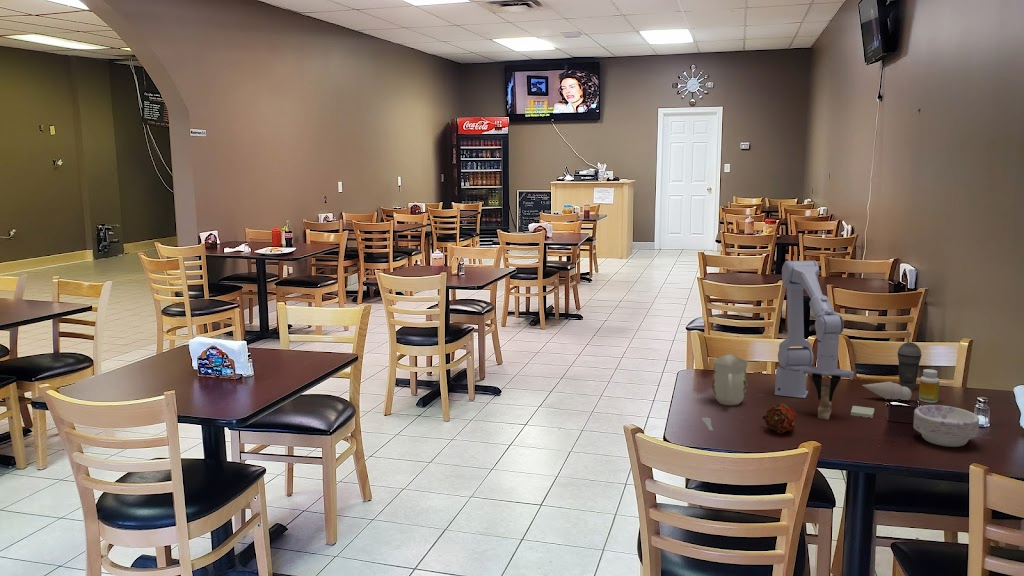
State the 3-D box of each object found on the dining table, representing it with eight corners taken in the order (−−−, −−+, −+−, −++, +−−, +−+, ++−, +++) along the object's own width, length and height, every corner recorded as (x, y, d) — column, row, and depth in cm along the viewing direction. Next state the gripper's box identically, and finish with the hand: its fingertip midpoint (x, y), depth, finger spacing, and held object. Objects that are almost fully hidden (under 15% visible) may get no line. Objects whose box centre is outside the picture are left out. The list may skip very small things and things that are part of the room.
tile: (850, 412, 229) (872, 414, 226) (852, 405, 235) (874, 408, 232) (850, 416, 229) (872, 419, 226) (852, 410, 235) (874, 413, 232)
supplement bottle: (937, 403, 239) (940, 373, 238) (918, 401, 242) (920, 371, 240) (938, 399, 244) (940, 369, 242) (918, 397, 246) (921, 367, 245)
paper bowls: (950, 455, 196) (953, 425, 195) (899, 436, 210) (901, 408, 209) (990, 446, 202) (992, 417, 201) (938, 429, 216) (940, 401, 215)
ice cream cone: (857, 397, 246) (907, 407, 243) (863, 390, 241) (914, 400, 238) (858, 380, 249) (908, 390, 246) (864, 372, 244) (915, 382, 241)
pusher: (817, 418, 226) (819, 388, 225) (820, 410, 233) (821, 382, 232) (828, 419, 225) (830, 389, 224) (831, 412, 232) (832, 383, 231)
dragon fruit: (780, 443, 210) (773, 435, 221) (806, 427, 208) (799, 419, 220) (761, 417, 211) (756, 411, 222) (788, 400, 209) (781, 395, 221)
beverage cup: (909, 392, 252) (914, 332, 249) (890, 386, 258) (894, 328, 256) (924, 389, 255) (928, 330, 252) (904, 383, 262) (908, 326, 259)
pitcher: (710, 410, 235) (711, 366, 233) (711, 394, 252) (712, 353, 250) (747, 413, 232) (749, 368, 230) (746, 396, 249) (748, 355, 247)
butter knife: (710, 417, 228) (700, 417, 228) (724, 445, 204) (713, 445, 204) (710, 418, 228) (700, 418, 228) (724, 447, 204) (713, 447, 204)
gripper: (799, 355, 226) (797, 399, 228) (853, 360, 220) (850, 406, 222) (802, 350, 232) (800, 393, 234) (854, 355, 226) (852, 399, 228)
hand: (825, 399), depth 228 cm, fingers closed on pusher, 2 cm apart
